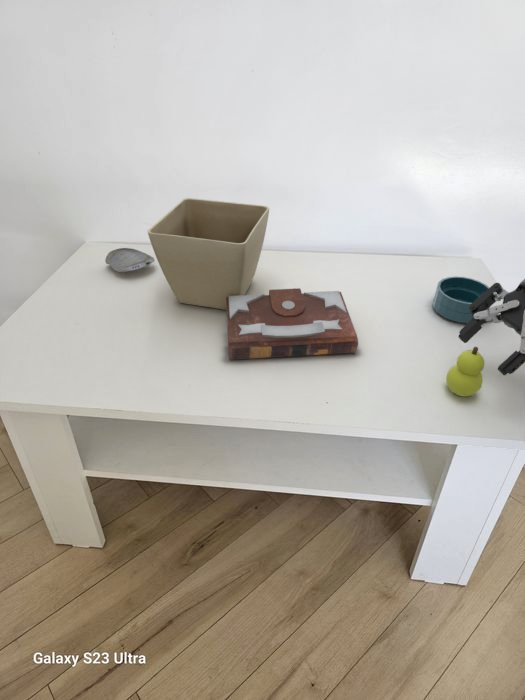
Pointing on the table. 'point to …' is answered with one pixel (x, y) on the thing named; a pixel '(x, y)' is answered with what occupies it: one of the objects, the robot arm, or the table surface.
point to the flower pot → (209, 249)
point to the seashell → (128, 259)
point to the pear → (466, 373)
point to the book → (289, 324)
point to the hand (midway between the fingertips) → (480, 355)
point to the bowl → (457, 297)
